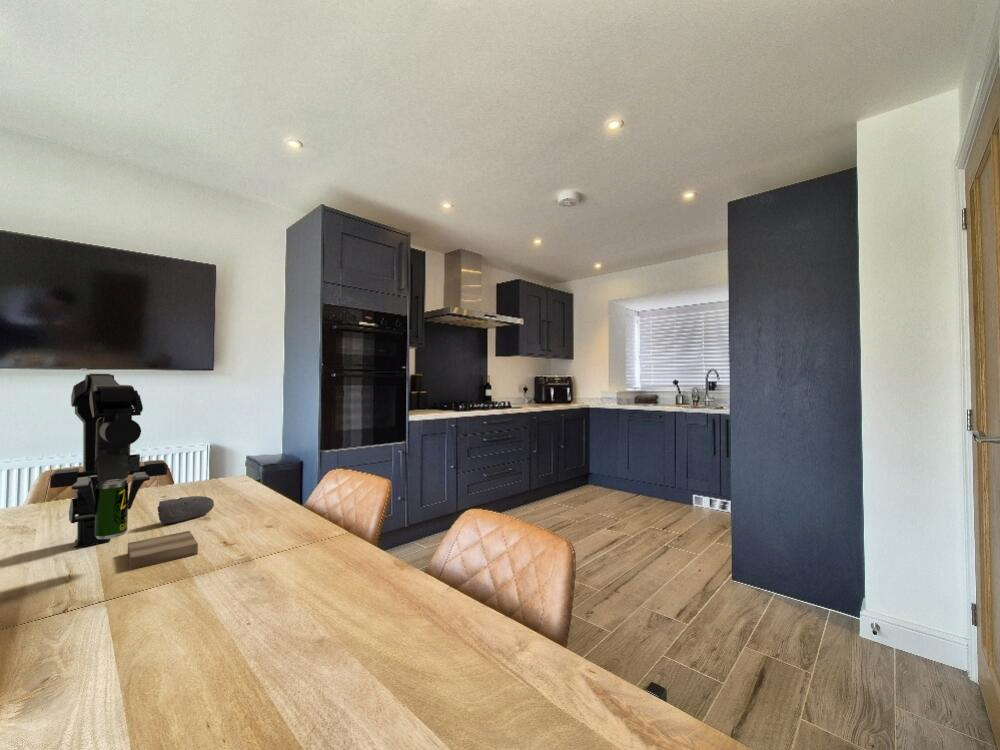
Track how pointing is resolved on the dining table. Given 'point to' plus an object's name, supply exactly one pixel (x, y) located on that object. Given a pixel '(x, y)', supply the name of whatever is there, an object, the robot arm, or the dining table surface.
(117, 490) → the beer can
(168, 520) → the perforated stone tool
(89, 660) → the dining table surface
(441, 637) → the dining table surface
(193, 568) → the dining table surface
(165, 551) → the walnut block
